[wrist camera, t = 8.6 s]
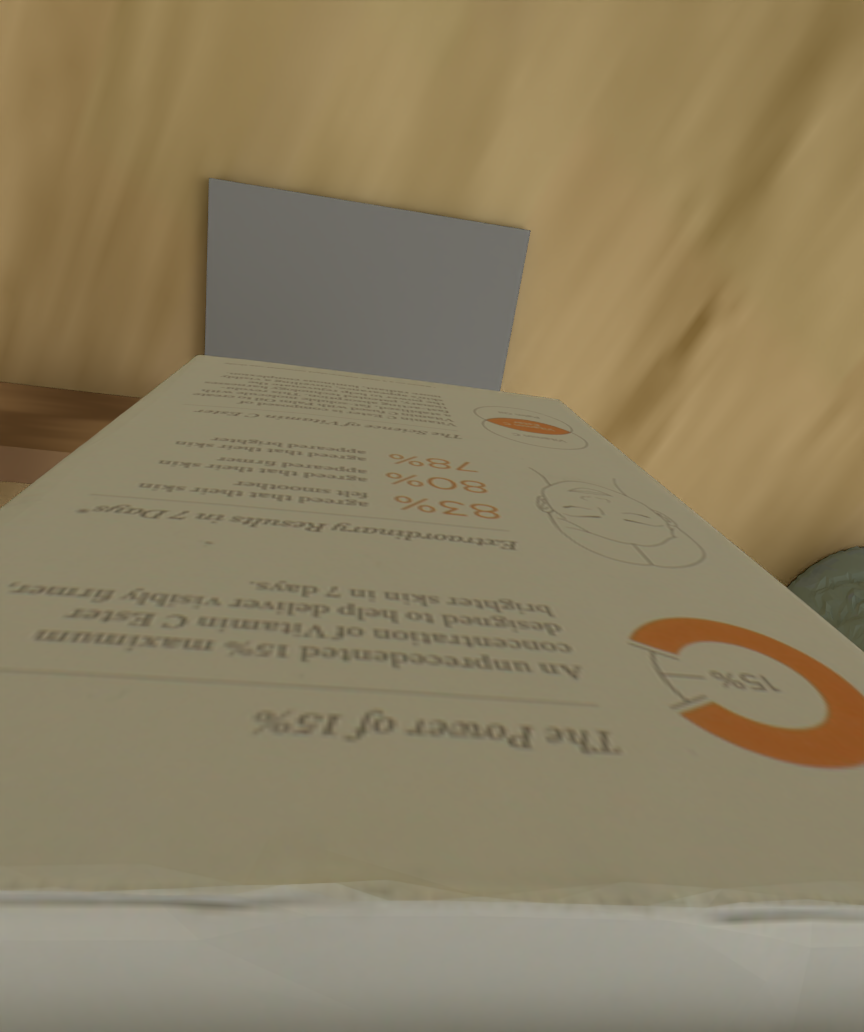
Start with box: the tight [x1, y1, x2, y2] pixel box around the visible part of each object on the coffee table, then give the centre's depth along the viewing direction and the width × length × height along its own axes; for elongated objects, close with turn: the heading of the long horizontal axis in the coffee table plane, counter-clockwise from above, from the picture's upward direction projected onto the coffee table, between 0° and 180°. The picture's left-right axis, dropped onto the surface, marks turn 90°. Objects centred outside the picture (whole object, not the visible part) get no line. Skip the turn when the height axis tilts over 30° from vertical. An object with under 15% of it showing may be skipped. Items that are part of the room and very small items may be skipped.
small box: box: [0, 355, 864, 1032], centre depth 10 cm, size 8×6×13 cm
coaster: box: [205, 178, 530, 391], centre depth 29 cm, size 12×12×1 cm
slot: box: [0, 382, 142, 484], centre depth 28 cm, size 10×13×7 cm
